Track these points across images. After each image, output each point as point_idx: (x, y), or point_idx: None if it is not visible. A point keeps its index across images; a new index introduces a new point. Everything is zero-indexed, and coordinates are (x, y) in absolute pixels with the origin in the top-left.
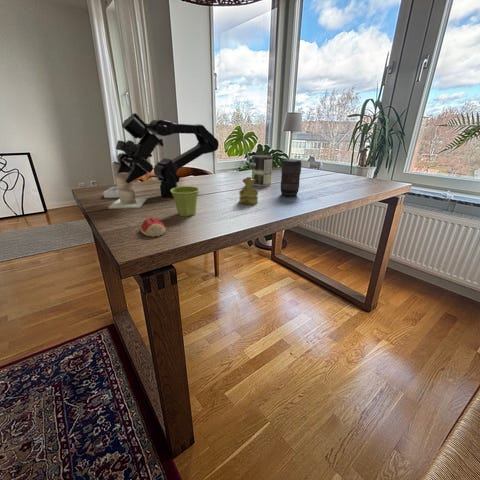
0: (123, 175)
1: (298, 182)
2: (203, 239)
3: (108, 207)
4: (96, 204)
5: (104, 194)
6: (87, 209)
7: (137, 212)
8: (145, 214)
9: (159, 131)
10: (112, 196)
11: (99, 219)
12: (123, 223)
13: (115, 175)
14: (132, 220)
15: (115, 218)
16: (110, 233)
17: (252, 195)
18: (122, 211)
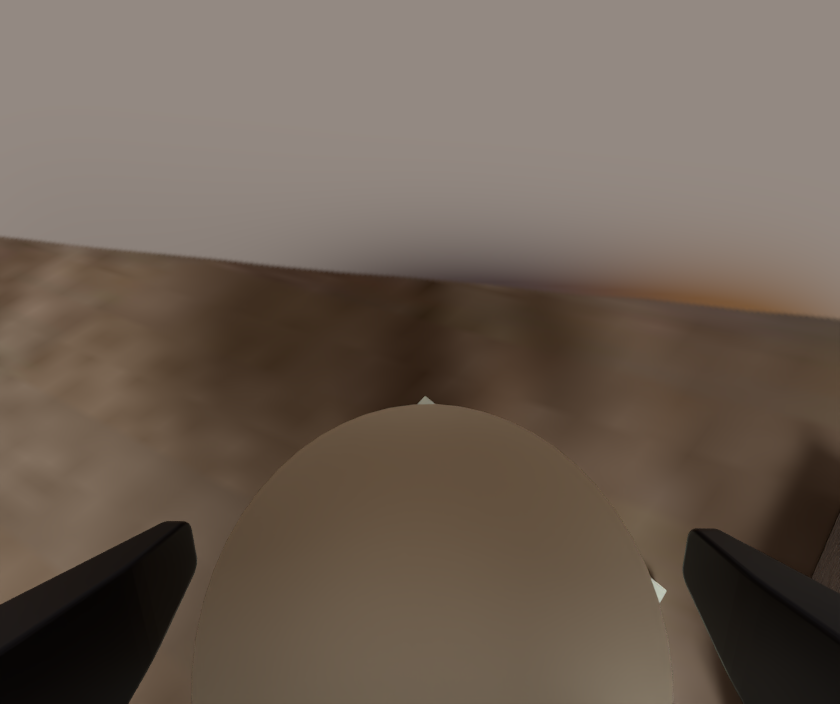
0: (241, 522)
1: None
2: None
3: (425, 397)
4: (619, 373)
5: None
6: (513, 294)
7: (131, 534)
8: (22, 561)
9: None
10: (827, 576)
11: (243, 288)
12: (45, 357)
13: (469, 416)
14: (27, 418)
15: (170, 356)
16: (2, 266)
17: None
18: (266, 451)
